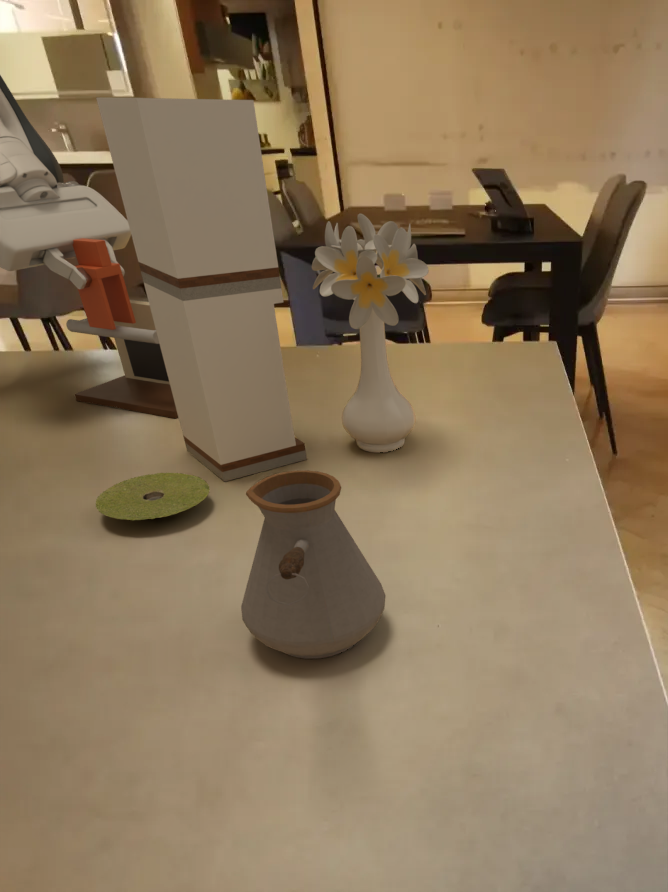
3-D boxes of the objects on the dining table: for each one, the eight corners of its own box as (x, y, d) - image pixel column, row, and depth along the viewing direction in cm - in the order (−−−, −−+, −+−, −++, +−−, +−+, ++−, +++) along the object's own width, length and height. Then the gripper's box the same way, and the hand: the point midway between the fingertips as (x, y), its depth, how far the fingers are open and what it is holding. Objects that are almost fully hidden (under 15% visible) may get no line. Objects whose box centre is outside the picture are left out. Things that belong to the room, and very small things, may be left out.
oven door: (175, 418, 97) (151, 325, 89) (76, 400, 102) (45, 311, 94) (226, 394, 105) (208, 308, 97) (132, 379, 110) (107, 296, 102)
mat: (220, 485, 80) (216, 469, 79) (204, 532, 71) (200, 515, 70) (116, 491, 79) (111, 474, 77) (87, 539, 70) (81, 522, 69)
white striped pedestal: (307, 459, 86) (253, 100, 65) (224, 481, 81) (136, 97, 59) (265, 432, 93) (204, 99, 72) (187, 451, 88) (95, 97, 66)
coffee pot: (252, 598, 62) (215, 434, 53) (382, 587, 64) (368, 425, 54) (230, 779, 45) (170, 585, 36) (406, 756, 47) (392, 566, 38)
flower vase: (347, 481, 82) (319, 234, 66) (323, 425, 95) (296, 211, 80) (453, 467, 85) (450, 231, 70) (416, 416, 99) (407, 209, 83)
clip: (112, 330, 92) (86, 243, 86) (89, 326, 93) (62, 241, 87) (136, 322, 95) (112, 238, 89) (113, 319, 96) (88, 236, 90)
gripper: (76, 199, 97) (151, 283, 100) (-63, 216, 82) (31, 314, 85) (89, 161, 93) (168, 250, 96) (-54, 172, 78) (45, 277, 81)
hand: (103, 281), depth 91 cm, fingers closed on clip, 4 cm apart
